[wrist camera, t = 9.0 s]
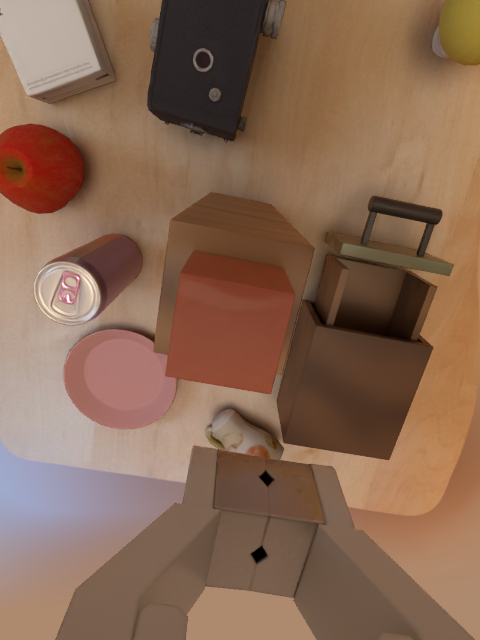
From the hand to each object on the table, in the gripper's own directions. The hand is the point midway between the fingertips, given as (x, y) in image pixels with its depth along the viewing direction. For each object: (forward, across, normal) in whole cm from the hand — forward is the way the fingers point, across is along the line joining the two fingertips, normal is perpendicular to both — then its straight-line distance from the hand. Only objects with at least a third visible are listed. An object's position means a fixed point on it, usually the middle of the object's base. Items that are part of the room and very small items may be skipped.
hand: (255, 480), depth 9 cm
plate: (+41, +12, +21) cm, 47 cm away
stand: (+40, +1, 0) cm, 40 cm away
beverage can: (+41, +14, +6) cm, 43 cm away
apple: (+41, +21, -3) cm, 46 cm away
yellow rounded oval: (+40, -16, -22) cm, 49 cm away
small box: (+41, +21, -14) cm, 48 cm away
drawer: (+40, -15, +3) cm, 42 cm away
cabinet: (+40, -15, +14) cm, 45 cm away
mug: (+41, -5, +27) cm, 49 cm away
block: (+12, +1, 0) cm, 12 cm away
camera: (+41, +6, -16) cm, 44 cm away
